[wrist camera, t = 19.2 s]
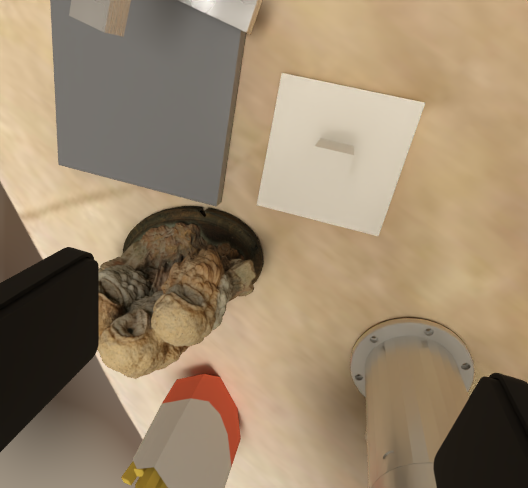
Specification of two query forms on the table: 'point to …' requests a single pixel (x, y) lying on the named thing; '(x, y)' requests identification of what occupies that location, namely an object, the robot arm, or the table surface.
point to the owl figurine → (172, 286)
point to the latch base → (148, 97)
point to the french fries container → (189, 438)
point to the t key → (212, 3)
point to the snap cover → (336, 152)
